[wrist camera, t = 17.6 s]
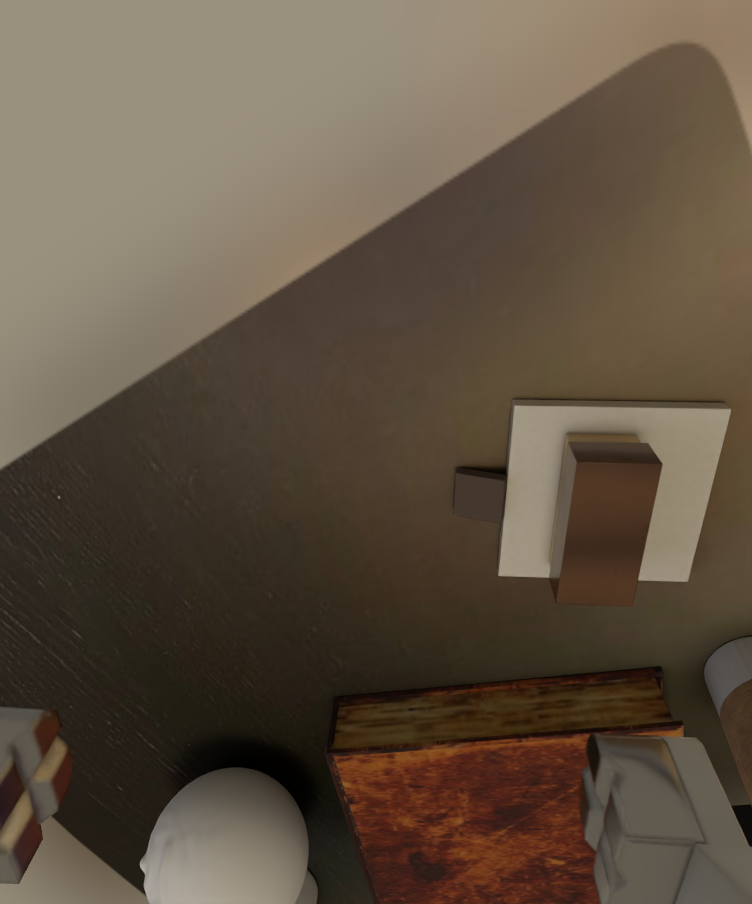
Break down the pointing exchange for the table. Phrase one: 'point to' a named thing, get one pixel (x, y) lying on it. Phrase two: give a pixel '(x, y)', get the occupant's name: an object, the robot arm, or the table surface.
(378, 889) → the book
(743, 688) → the coffee cup
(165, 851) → the decorative ball
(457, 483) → the dark brown square block
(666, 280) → the table surface
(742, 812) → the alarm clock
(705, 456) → the tile
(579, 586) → the brown rectangular block
